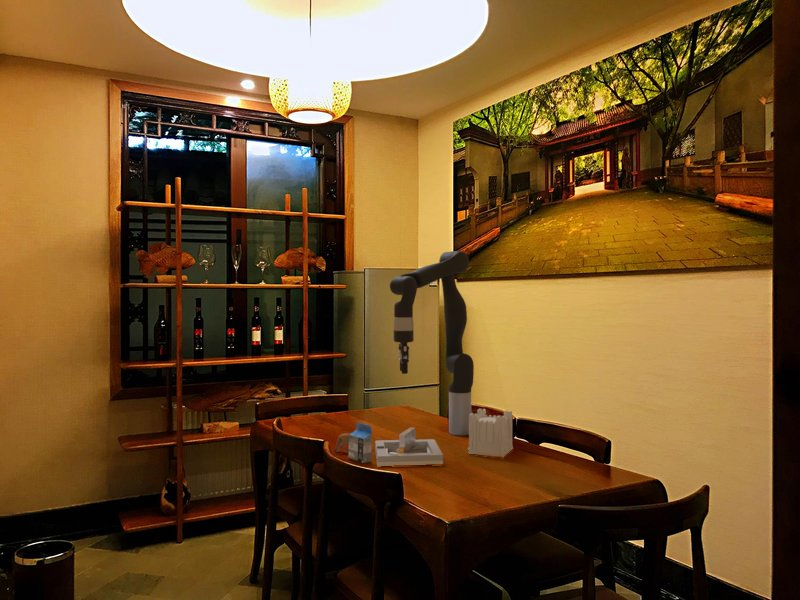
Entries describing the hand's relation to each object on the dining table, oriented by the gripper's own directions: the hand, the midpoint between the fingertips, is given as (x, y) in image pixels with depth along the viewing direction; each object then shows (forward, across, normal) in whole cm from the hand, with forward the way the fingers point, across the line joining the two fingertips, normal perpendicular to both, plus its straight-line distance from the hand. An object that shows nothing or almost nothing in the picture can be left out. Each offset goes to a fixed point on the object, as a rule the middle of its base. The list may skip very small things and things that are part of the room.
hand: (403, 372), depth 226 cm
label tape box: (+28, -17, +17) cm, 37 cm away
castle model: (+28, -10, -30) cm, 43 cm away
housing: (+28, -15, 0) cm, 32 cm away
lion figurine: (+28, -4, +19) cm, 35 cm away
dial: (+26, -15, 0) cm, 30 cm away
